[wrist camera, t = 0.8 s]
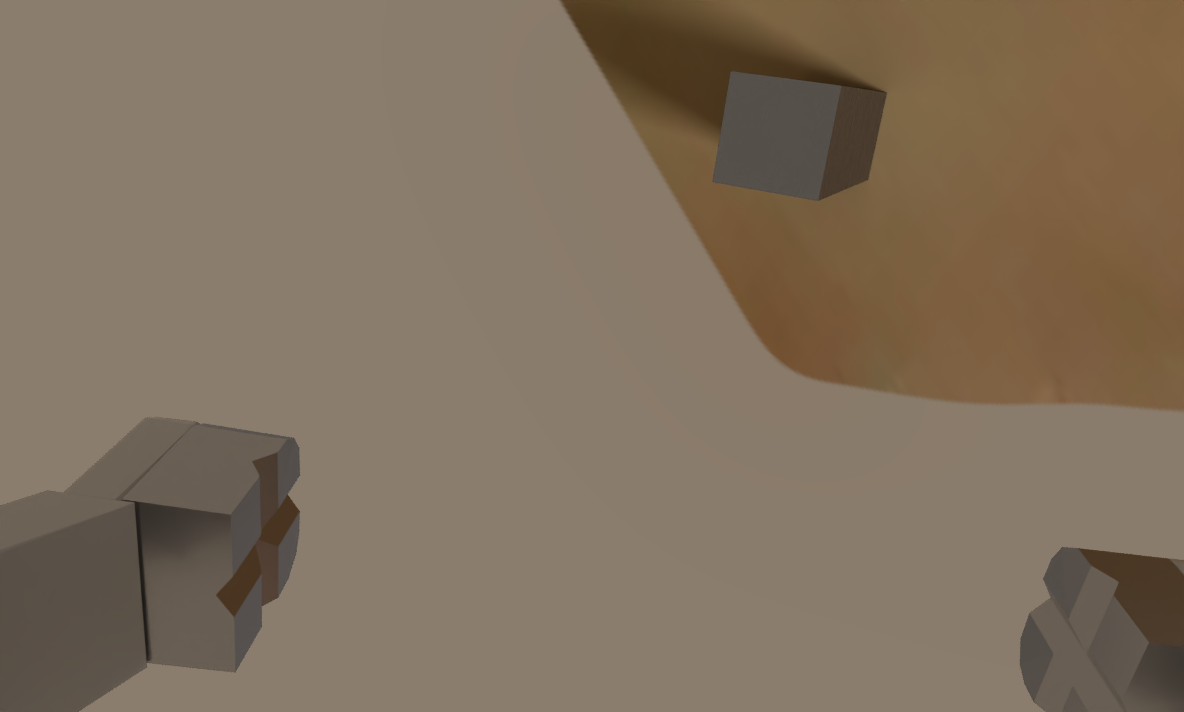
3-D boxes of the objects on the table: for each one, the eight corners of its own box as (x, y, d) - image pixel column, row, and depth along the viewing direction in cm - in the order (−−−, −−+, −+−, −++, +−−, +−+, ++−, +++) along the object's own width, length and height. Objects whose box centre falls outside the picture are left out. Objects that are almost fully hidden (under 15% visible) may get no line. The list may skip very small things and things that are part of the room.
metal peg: (801, 81, 44) (730, 71, 33) (886, 92, 42) (841, 85, 32) (785, 165, 45) (712, 182, 35) (868, 179, 44) (818, 200, 33)
